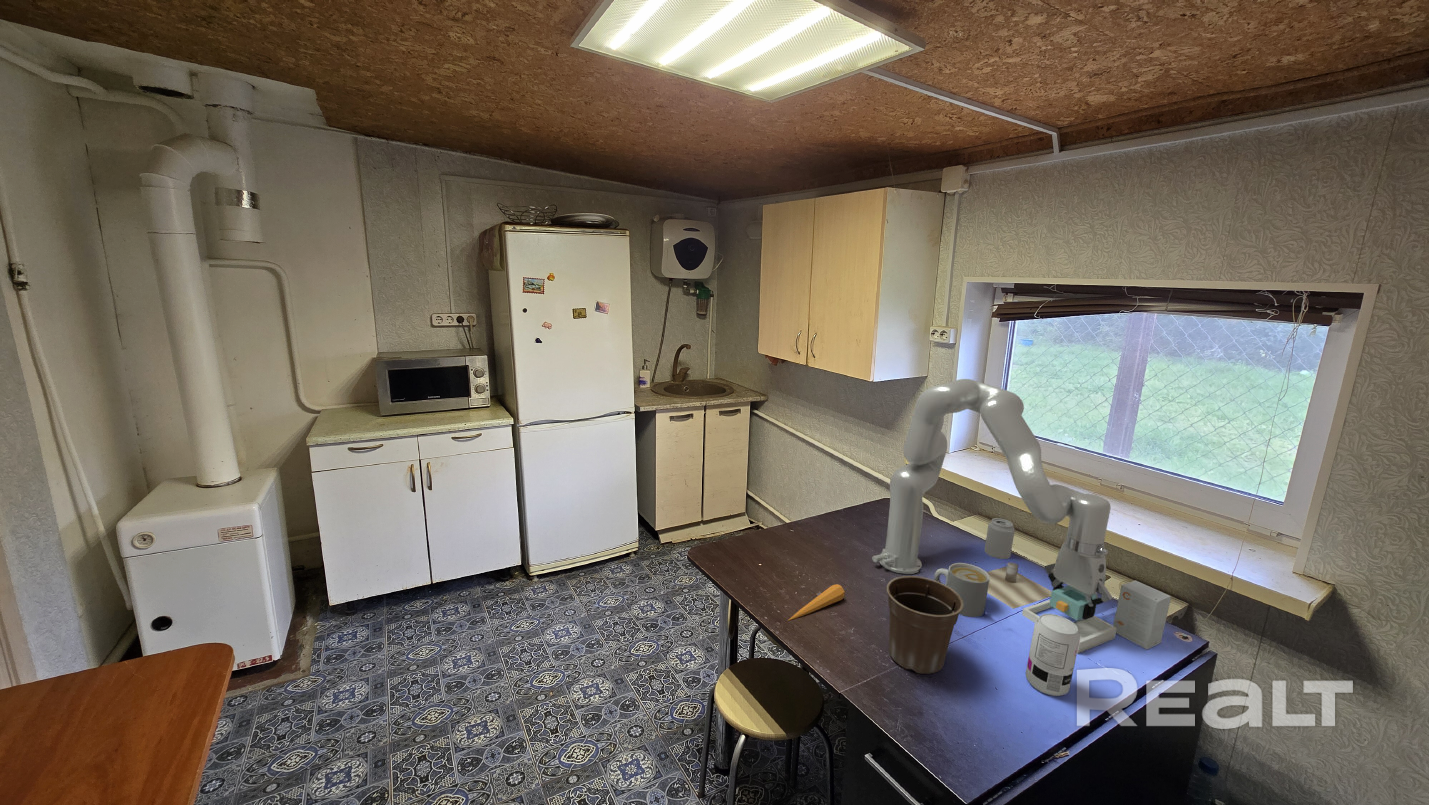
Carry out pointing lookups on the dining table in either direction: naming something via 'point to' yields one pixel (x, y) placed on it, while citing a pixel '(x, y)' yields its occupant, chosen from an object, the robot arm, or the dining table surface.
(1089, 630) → the tray
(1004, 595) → the stake base
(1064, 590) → the collar
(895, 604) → the plant pot
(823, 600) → the carrot
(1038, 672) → the supplement can
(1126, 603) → the small box
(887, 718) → the dining table surface
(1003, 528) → the can
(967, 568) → the coffee mug
